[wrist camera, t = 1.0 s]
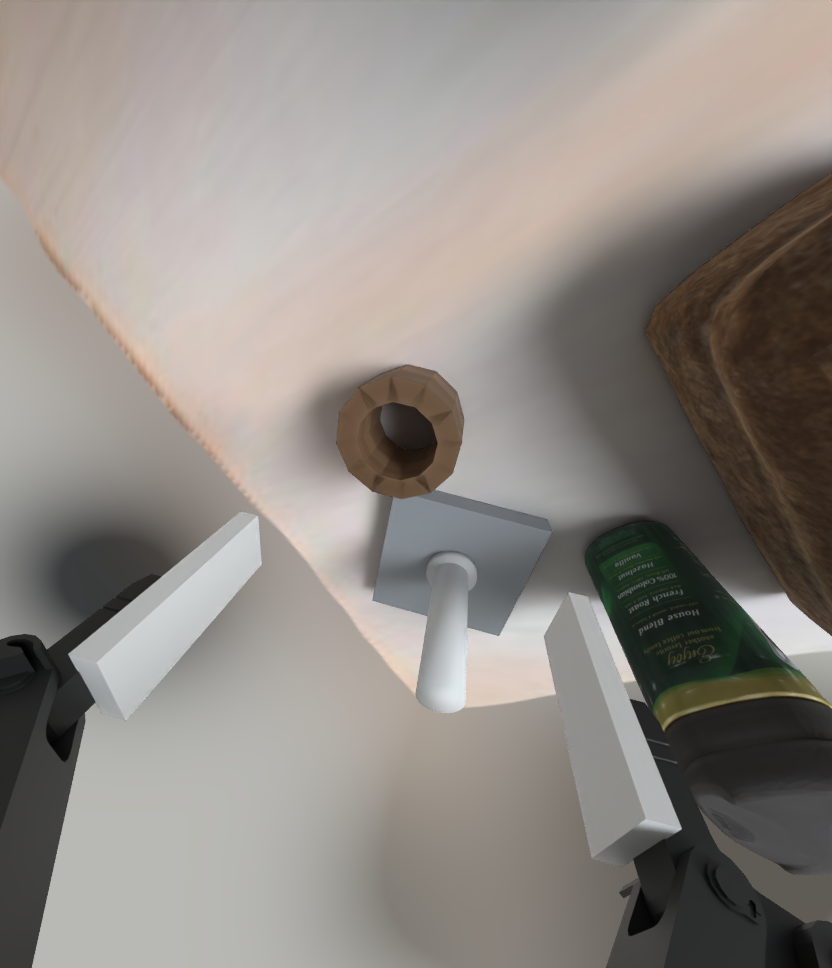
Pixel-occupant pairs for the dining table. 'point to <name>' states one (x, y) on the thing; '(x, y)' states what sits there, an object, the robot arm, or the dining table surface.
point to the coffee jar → (721, 697)
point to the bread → (765, 385)
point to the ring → (380, 456)
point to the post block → (455, 579)
